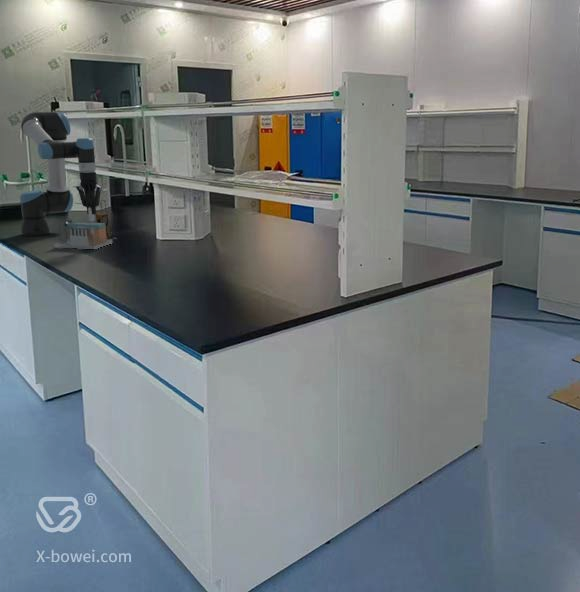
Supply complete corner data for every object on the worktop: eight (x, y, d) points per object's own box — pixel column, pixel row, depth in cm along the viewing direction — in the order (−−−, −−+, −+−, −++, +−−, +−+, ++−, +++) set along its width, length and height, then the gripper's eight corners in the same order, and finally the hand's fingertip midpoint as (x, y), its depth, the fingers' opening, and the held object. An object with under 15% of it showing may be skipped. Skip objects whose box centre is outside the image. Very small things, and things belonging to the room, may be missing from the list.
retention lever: (60, 227, 304) (60, 222, 304) (68, 225, 310) (67, 221, 309) (98, 228, 299) (98, 224, 298) (105, 226, 304) (105, 222, 304)
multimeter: (113, 241, 318) (109, 202, 312) (95, 240, 320) (91, 201, 314) (125, 236, 332) (122, 198, 326) (108, 235, 334) (105, 198, 328)
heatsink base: (54, 248, 302) (52, 223, 299) (74, 241, 317) (71, 218, 314) (94, 250, 297) (92, 225, 293) (112, 243, 311) (110, 220, 308)
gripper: (71, 172, 294) (76, 221, 300) (95, 172, 290) (99, 222, 297) (80, 170, 301) (85, 219, 307) (104, 171, 297) (108, 220, 304)
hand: (92, 220), depth 302 cm, fingers closed
